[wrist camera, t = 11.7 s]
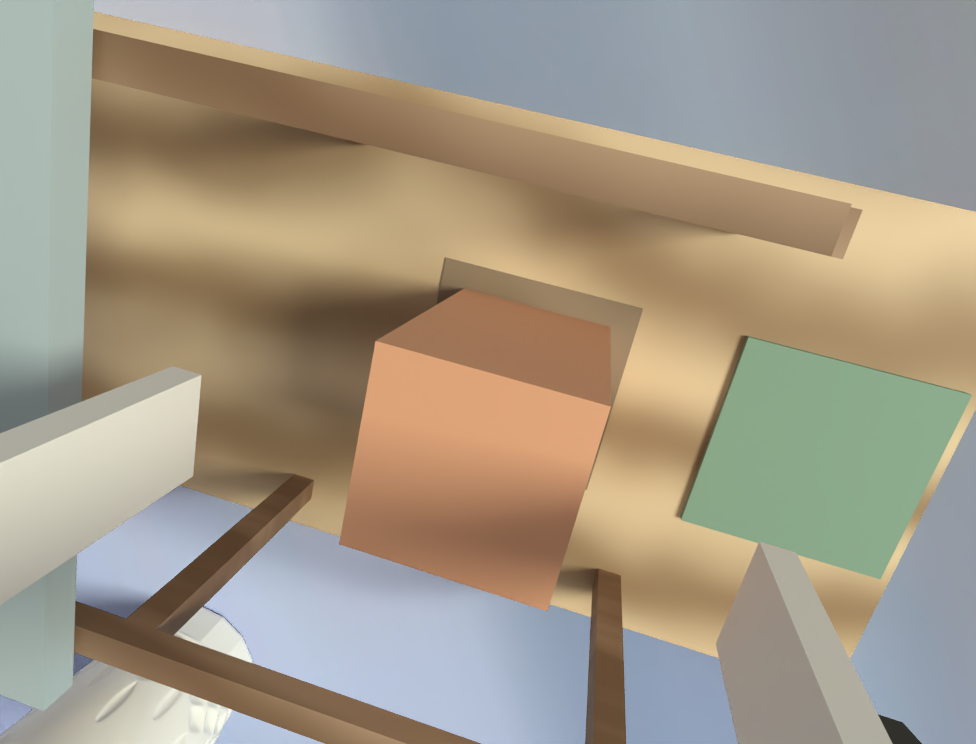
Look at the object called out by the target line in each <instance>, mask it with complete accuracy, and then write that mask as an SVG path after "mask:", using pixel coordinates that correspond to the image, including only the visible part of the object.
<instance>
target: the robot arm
mask: <svg viewBox="0 0 976 744" xmlns="http://www.w3.org/2000/svg"><path fill="white" fill-rule="evenodd" d="M200 387H201V375H200V374H197V373H194V372H190V371H187V370H184V369H180V368H177V367H174V366H172V367H169V368H167V369H164V370H161V371H159V372H156V373H154V374H151V375H149V376H146V377H144V378H141V379H138V380H136V381H133V382H131V383H128V384H126V385H123V386H120V387H118V388H115V389H113V390H110V391H108V392H105V393H103V394H100V395H97V396H95V397H92V398H90V399H87V400H85V401H82V402H79V403H77V404H74V405H72V406H69V407H67V408H64V409H62V410H59V411H56V412H54V413H51V414H49V415H46V416H44V417H41V418H38V419H36V420H33V421H31V422H28V423H26V424H23V425H21V426H18V427H15V428H13V429H10V430H8V431H5V432H3V433H0V605H1V604H3V603H4V602H6V601H7V600H9V599H10V598H12V597H13V596H15V595H16V594H18V593H19V592H21V591H22V590H24V589H25V588H27V587H28V586H30V585H31V584H33V583H34V582H36V581H37V580H39V579H40V578H42V577H43V576H45V575H46V574H48V573H49V572H51V571H52V570H54V569H55V568H57V567H58V566H60V565H61V564H63V563H64V562H66V561H67V560H69V559H70V558H72V557H73V556H75V555H76V554H78V553H79V552H81V551H82V550H84V549H85V548H87V547H88V546H90V545H91V544H93V543H94V542H96V541H97V540H99V539H100V538H101V537H103V536H104V535H106V534H107V533H109V532H110V531H112V530H113V529H115V528H116V527H118V526H119V525H121V524H122V523H124V522H125V521H127V520H128V519H130V518H131V517H133V516H134V515H136V514H137V513H139V512H140V511H142V510H143V509H145V508H146V507H148V506H149V505H151V504H152V503H154V502H155V501H157V500H158V499H160V498H161V497H163V496H164V495H166V494H167V493H169V492H170V491H172V490H173V489H175V488H176V487H178V486H179V485H181V484H182V483H184V482H185V481H187V480H188V479H190V478H191V477H193V471H194V459H195V447H196V435H197V423H198V411H199V399H200ZM716 647H717V652H718V656H719V661H720V665H721V670H722V674H723V679H724V683H725V688H726V692H727V696H728V701H729V705H730V710H731V714H732V719H733V723H734V728H735V732H736V737H737V741H738V744H922V743H921V742H920V741H919V740H918V739H917V738H916V737H915V736H914V735H913V733H912V732H911V731H910V730H909V729H908V728H907V727H906V726H905V725H904V724H903V722H899V721H896V720H893V719H890V718H887V717H884V716H881V715H878V714H877V712H876V710H875V708H874V706H873V704H872V702H871V700H870V698H869V696H868V694H867V692H866V690H865V688H864V686H863V684H862V682H861V680H860V678H859V676H858V674H857V672H856V670H855V668H854V666H853V664H852V662H851V660H850V658H849V656H848V654H847V652H846V650H845V648H844V646H843V644H842V642H841V640H840V638H839V637H838V635H837V633H836V631H835V629H834V627H833V625H832V623H831V621H830V619H829V617H828V615H827V613H826V611H825V609H824V607H823V605H822V603H821V601H820V599H819V597H818V595H817V593H816V591H815V589H814V587H813V585H812V583H811V581H810V579H809V577H808V575H807V573H806V571H805V569H804V567H803V565H802V563H801V561H800V559H799V557H798V555H797V553H796V552H793V551H790V550H787V549H783V548H780V547H776V546H773V545H770V544H766V543H763V542H760V541H759V543H758V546H757V548H756V550H755V553H754V555H753V557H752V560H751V562H750V564H749V567H748V569H747V571H746V574H745V576H744V579H743V581H742V583H741V586H740V588H739V590H738V593H737V595H736V597H735V600H734V602H733V604H732V607H731V609H730V611H729V614H728V616H727V618H726V621H725V623H724V625H723V628H722V630H721V633H720V635H719V637H718V640H717V642H716Z"/></svg>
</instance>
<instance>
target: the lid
mask: <svg viewBox="0 0 976 744" xmlns="http://www.w3.org/2000/svg"><path fill="white" fill-rule="evenodd" d="M93 18H94V0H0V433H3V432H5V431H8V430H10V429H13V428H15V427H18V426H21V425H23V424H26V423H28V422H31V421H33V420H36V419H38V418H41V417H44V416H46V415H49V414H51V413H54V412H56V411H59V410H62V409H64V408H67V407H69V406H72V405H74V404H77V403H79V402H82V372H83V340H84V307H85V275H86V243H87V211H88V179H89V147H90V115H91V82H92V50H93ZM76 564H77V554H76V555H75V556H73V557H72V558H70V559H69V560H67V561H66V562H64V563H63V564H61V565H60V566H58V567H57V568H55V569H54V570H52V571H51V572H49V573H48V574H46V575H45V576H43V577H42V578H40V579H39V580H37V581H36V582H34V583H33V584H31V585H30V586H28V587H27V588H25V589H24V590H22V591H21V592H19V593H18V594H16V595H15V596H13V597H12V598H10V599H9V600H7V601H6V602H4V603H3V604H1V605H0V695H2V696H5V697H7V698H10V699H13V700H15V701H18V702H21V703H23V704H26V705H29V706H31V707H34V708H36V709H39V710H42V711H45V710H46V709H47V708H48V707H49V706H50V705H51V704H52V703H54V702H55V701H56V700H57V699H58V698H59V697H60V696H61V695H62V694H64V693H65V692H66V691H67V690H68V689H69V688H70V687H71V686H73V661H74V629H75V597H76Z"/></svg>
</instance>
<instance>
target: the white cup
mask: <svg viewBox="0 0 976 744" xmlns="http://www.w3.org/2000/svg"><path fill="white" fill-rule="evenodd" d="M173 636H176V637H179V638H182V639H185V640H188V641H190V642H193V643H196V644H199V645H202V646H205V647H207V648H210V649H213V650H216V651H219V652H222V653H225V654H227V655H230V656H233V657H236V658H239V659H242V660H244V661H247V662H250V663H252V658H251V656H250V653H249V651H248V648H247V646H246V644H245V641H244V639H243V637H242V636H241V635H240V634H239V633H238V632H237V631H236V630H235V628H234V627H233V626H232V625H231V624H230V623H229V622H228V621H227V620H226V619H225V618H224V617H222V616H220V615H218V614H216V613H214V612H212V611H210V610H208V609H206V608H204V607H202V608H201V609H200V610H199V611H198V612H197V613H196V614H195V615H194V616H193V617H192V618H191V619H190V620H189V621H188V622H187V623H186V624H185V625H184V626H183V627H182V628H181V629H180V630H179V631H178V632H177V633H176V634H175V635H173ZM232 711H233V710H231V709H229V708H226V707H223V706H220V705H218V704H215V703H212V702H209V701H207V700H204V699H201V698H198V697H196V696H193V695H190V694H187V693H185V692H182V691H179V690H176V689H174V688H171V687H168V686H165V685H163V684H160V683H157V682H154V681H152V680H149V679H146V678H143V677H141V676H138V675H135V674H132V673H129V672H127V671H124V670H121V669H118V668H116V667H113V666H110V665H107V664H105V663H102V662H99V661H96V660H93V661H92V662H90V663H89V664H88V665H86V666H85V667H84V668H82V669H81V670H80V671H78V672H77V673H76V674H75V675H73V686H71V687H70V688H69V689H68V690H67V691H66V692H65V693H64V694H62V695H61V696H60V697H59V698H58V699H57V700H56V701H55V702H54V703H52V704H51V705H50V706H49V707H48V708H47V709H46V710H45V711H42V710H39V709H36V708H33V709H32V710H31V711H29V712H28V713H27V714H26V715H24V716H23V717H22V718H21V719H19V720H18V721H17V722H16V723H15V724H13V725H12V726H11V727H10V728H8V729H7V730H6V731H5V732H4V733H2V734H1V735H0V744H214V742H215V741H216V739H217V738H218V737H219V735H220V734H221V731H222V728H223V726H224V724H225V722H226V721H227V719H228V717H229V716H230V714H231V712H232Z"/></svg>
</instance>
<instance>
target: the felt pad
mask: <svg viewBox="0 0 976 744" xmlns="http://www.w3.org/2000/svg"><path fill="white" fill-rule="evenodd" d="M971 397H972V395H971V394H969V393H966V392H962V391H959V390H955V389H951V388H947V387H943V386H939V385H935V384H932V383H928V382H924V381H920V380H916V379H912V378H908V377H905V376H901V375H897V374H893V373H889V372H885V371H881V370H878V369H874V368H870V367H866V366H862V365H858V364H855V363H851V362H847V361H843V360H839V359H835V358H831V357H828V356H824V355H820V354H816V353H812V352H808V351H804V350H801V349H797V348H793V347H789V346H785V345H781V344H777V343H774V342H770V341H766V340H762V339H758V338H754V337H750V336H747V337H746V340H745V342H744V345H743V348H742V351H741V353H740V356H739V359H738V361H737V364H736V367H735V370H734V372H733V375H732V378H731V380H730V383H729V386H728V389H727V391H726V394H725V397H724V399H723V402H722V405H721V408H720V410H719V413H718V416H717V418H716V421H715V424H714V427H713V429H712V432H711V435H710V437H709V440H708V443H707V446H706V448H705V451H704V454H703V456H702V459H701V462H700V465H699V467H698V470H697V473H696V475H695V478H694V481H693V484H692V486H691V489H690V492H689V494H688V497H687V500H686V503H685V505H684V508H683V511H682V513H681V516H680V518H681V520H682V521H685V522H689V523H692V524H695V525H699V526H702V527H705V528H709V529H712V530H716V531H719V532H722V533H726V534H729V535H732V536H736V537H739V538H742V539H746V540H749V541H753V542H756V543H759V541H760V542H763V543H766V544H770V545H773V546H776V547H780V548H783V549H787V550H790V551H793V552H796V553H797V555H800V556H803V557H806V558H810V559H813V560H817V561H820V562H823V563H827V564H830V565H833V566H837V567H840V568H843V569H847V570H850V571H854V572H857V573H860V574H864V575H867V576H870V577H874V578H877V579H881V577H882V575H883V573H884V571H885V569H886V567H887V565H888V563H889V561H890V559H891V557H892V555H893V553H894V551H895V549H896V547H897V545H898V543H899V541H900V539H901V537H902V535H903V533H904V531H905V529H906V527H907V525H908V523H909V521H910V519H911V517H912V515H913V513H914V511H915V509H916V507H917V505H918V503H919V501H920V499H921V497H922V495H923V493H924V491H925V489H926V487H927V485H928V483H929V481H930V479H931V477H932V475H933V473H934V471H935V469H936V467H937V465H938V463H939V461H940V459H941V457H942V455H943V453H944V451H945V449H946V447H947V445H948V443H949V441H950V439H951V437H952V435H953V433H954V431H955V429H956V427H957V425H958V423H959V421H960V419H961V417H962V415H963V413H964V411H965V409H966V407H967V405H968V403H969V401H970V399H971Z"/></svg>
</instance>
